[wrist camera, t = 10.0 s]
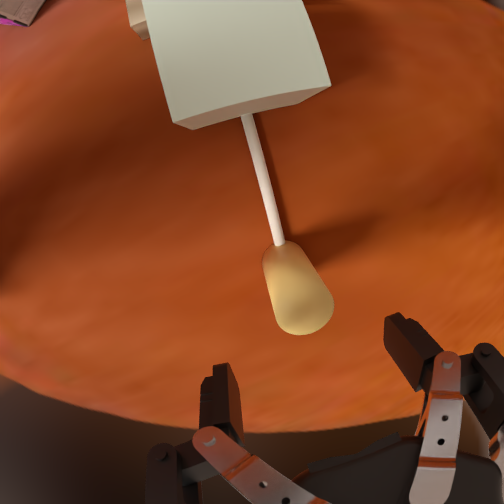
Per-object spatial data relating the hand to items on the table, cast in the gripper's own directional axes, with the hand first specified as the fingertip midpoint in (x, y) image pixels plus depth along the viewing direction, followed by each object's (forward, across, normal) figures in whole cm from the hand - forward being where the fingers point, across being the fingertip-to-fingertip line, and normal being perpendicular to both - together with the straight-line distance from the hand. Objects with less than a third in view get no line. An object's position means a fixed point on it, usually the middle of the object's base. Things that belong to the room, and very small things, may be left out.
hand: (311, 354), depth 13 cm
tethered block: (+10, 0, -9) cm, 13 cm away
